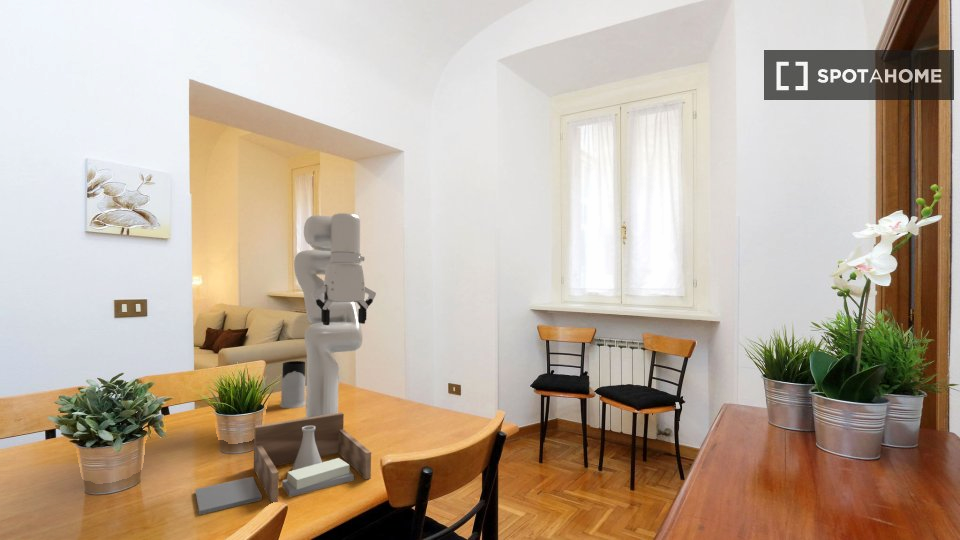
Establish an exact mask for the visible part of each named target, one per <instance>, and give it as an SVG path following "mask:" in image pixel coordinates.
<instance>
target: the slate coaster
mask: <svg viewBox="0 0 960 540" xmlns="http://www.w3.org/2000/svg"><path fill="white" fill-rule="evenodd" d="M194 494H195V499H196V503H197V504H196V505H197V508H198V509H197V511H198V515H199V516H201V515H205V514H210V513H213V512H217V511H222V510H226V509H230V508H234V507H238V506H243V505H246V504H250V503H251V504H252V503H254V502H258V501H259V502H260V501H263V499H262V498H263V496H262V493H261V492H260V489H259V487H258V485H257V483H256V481H255V479H254V477H253V476H250V477H244V478H240V479H235V480H232V481H227V482H222V483H218V484H212V485H208V486H204V487H198V488H195V492H194Z"/></svg>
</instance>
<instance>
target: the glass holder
mask: <svg viewBox="0 0 960 540" xmlns="http://www.w3.org/2000/svg"><path fill="white" fill-rule="evenodd" d="M281 375H282V376H281V396H280V397H281V401H280V404H279V407H280V408H283V409H297V408H301V407H306V362H305V361H303V360H293V361H285V362H283V363H282V374H281Z"/></svg>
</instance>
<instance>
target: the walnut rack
mask: <svg viewBox="0 0 960 540" xmlns="http://www.w3.org/2000/svg"><path fill="white" fill-rule="evenodd" d="M305 426H315V431H314V438H315V443H316V446H317V449H318V452H319V455H320V457H324V456H329V455H334V454H339V455H340V456H341V457H342V458H343V459H344V460H345V462H346V463H347V464H349V465H350V467H352V468H353V469H354V470H355V471H357V473H358V474H359V475H360V476H362V478H363V479H365V480H370V479H371V478H372V474H371V473H372V470H371V469H372V451H370V450H369V449H368V448H367V447H365V445H363V444H362V443H361V442H360V441H359V440H357V439H356V438H354V437H353V436H352V435H351V434H350V433H349V432H347V430H345V429H344V413H343V412H338V413H335V414H328V415H322V416H315V417H309V418H305V417H302V418H298V419H296V418H295V419H291V420H285V421H279V422H272V423H266V424H259V425H254V439H253V470H254V471H255V473H256V476H257V477H258V479H259V482H260V483H261V485H262V487H263V490H264V491H265V493H266V495H267V497H268V499H269V501H270V503H271V504H273V503H272V502H274V503H278V502H279V471H278V469H277V467H276V466H280V465H281V466H282V465H286V464H291V463H294V462H295V460H296V457H297V455H298V452H299V449H300V446H301V443H302V439H303V431H302V427H305Z"/></svg>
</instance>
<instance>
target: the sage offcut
mask: <svg viewBox="0 0 960 540" xmlns="http://www.w3.org/2000/svg"><path fill="white" fill-rule="evenodd" d="M350 467H351V465H350V464H349V463H348V462H347V461H344V460H343V459H341V458H340V457H337V458H332V459H330V460H326V461H322V463H318V464H315V465H311V466H307V467H304V468H300V469H296V470H293V471H292V470H290V471H287V476H286V479H287V481H288V482H289V483H290V484H291V485H292V486H294V487H295V488H296V489H300V488H304V487H307V486H310V485H314V484H317V483H320V482H323V481H327V480H330V479H333V478H337V477H340V476H343V475H346V474H349V470H350Z"/></svg>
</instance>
